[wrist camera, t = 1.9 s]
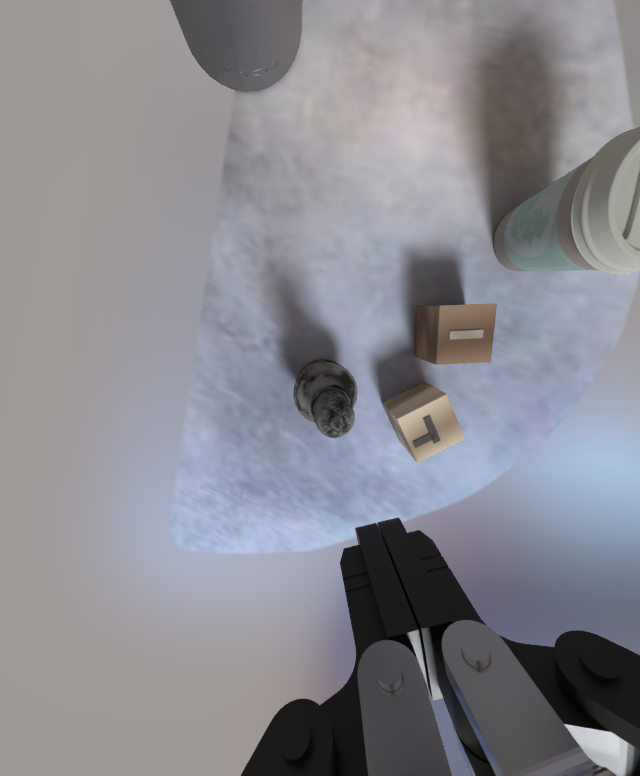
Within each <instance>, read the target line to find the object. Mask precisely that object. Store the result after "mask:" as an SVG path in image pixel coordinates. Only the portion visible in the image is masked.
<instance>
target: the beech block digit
mask: <svg viewBox="0 0 640 776" xmlns="http://www.w3.org/2000/svg"><path fill="white" fill-rule="evenodd" d="M382 405H383V407H384V409H385V411H386V413H387V415H388V418H389V420H390V422H391V424H392V426H393V428H394V430H395V432H396V435H397V437H398V439H399V441H400V442H401V444H402V445H403V446H404V447H405V448H406V450H407V451H408V452H409V453H410V455H411V456H412V457H413V458H414V460H415V461H416V462H417V463H418V462H420V461H422V460H424V459H426V458H428V457H430V456H432V455H434V454H436V453H438V452H440V451H442V450H444V449H446V448H448V447H450V446H452V445H454V444H456V443H458V442H460V441H462V440H464V439H465V438H464V436H463V433H462V431H461V428H460V426H459V423H458V421H457V418H456V416H455V413H454V411H453V408H452V406H451V403H450V401H449V398H448V396H447V394H446V393H444V392H442V391H440V390H438V389H436V388H435V387H433V386H431V385H429V384H427V383H425V382H423V383H421V384H419V385H417V386H415V387H413V388H411V389H409V390H407V391H405V392H403V393H401V394H399V395H397V396H395V397H393V398H391V399H389V400H387V401H385V402H383V403H382Z"/></svg>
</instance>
